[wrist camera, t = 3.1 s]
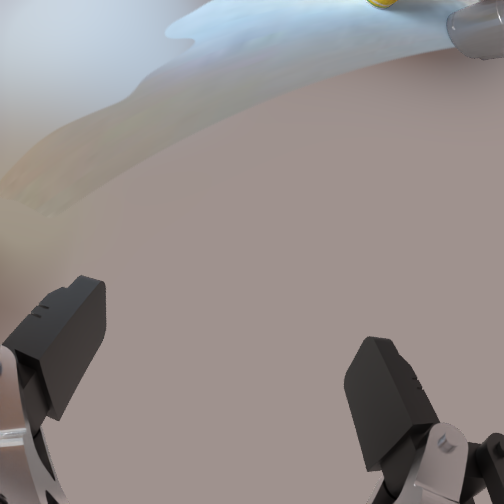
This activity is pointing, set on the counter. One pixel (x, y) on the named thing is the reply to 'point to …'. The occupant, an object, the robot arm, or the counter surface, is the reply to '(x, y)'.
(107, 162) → the counter surface
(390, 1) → the supplement bottle
